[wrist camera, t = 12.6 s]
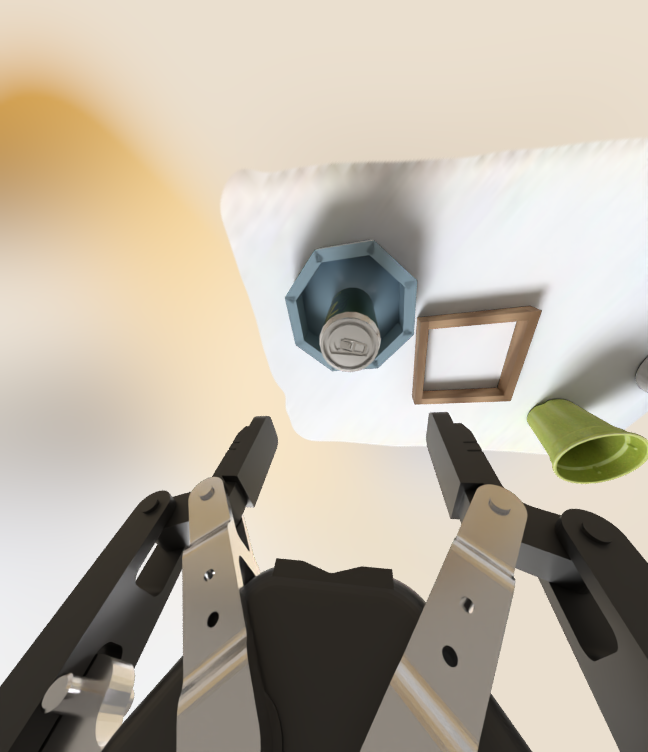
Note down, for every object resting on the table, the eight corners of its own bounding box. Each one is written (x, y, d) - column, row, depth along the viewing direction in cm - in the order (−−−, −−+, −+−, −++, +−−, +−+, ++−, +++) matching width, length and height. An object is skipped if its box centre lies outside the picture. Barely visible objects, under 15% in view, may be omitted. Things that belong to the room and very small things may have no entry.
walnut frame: (530, 306, 28) (541, 310, 26) (503, 392, 34) (510, 401, 32) (417, 317, 30) (420, 322, 28) (412, 396, 36) (414, 404, 35)
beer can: (378, 291, 28) (391, 323, 18) (366, 331, 31) (371, 379, 21) (335, 282, 28) (323, 308, 18) (327, 323, 31) (313, 367, 21)
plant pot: (602, 389, 32) (674, 435, 25) (569, 436, 37) (622, 486, 30) (528, 388, 33) (575, 432, 26) (506, 434, 38) (541, 481, 31)
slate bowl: (410, 232, 25) (420, 232, 21) (405, 350, 32) (412, 366, 29) (286, 253, 28) (275, 256, 24) (308, 358, 35) (302, 373, 31)
